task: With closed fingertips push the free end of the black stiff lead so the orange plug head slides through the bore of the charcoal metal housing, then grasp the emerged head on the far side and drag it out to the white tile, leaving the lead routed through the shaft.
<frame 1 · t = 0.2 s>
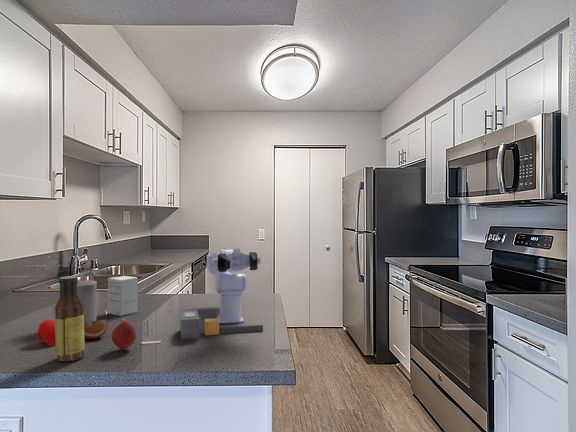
hand: (241, 263, 124), 21 cm above the counter, tool horizontal, fingers open, 7 cm apart
plug: (211, 333, 127), on the counter
sauce bottle: (69, 359, 103), on the counter
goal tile: (151, 343, 116), on the counter
onion: (123, 350, 110), on the counter
fruit slice: (91, 339, 120), on the counter
housing: (189, 334, 125), on the counter
cap: (50, 343, 115), on the counter
pillar candle: (79, 326, 133), on the counter
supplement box: (122, 313, 151), on the counter
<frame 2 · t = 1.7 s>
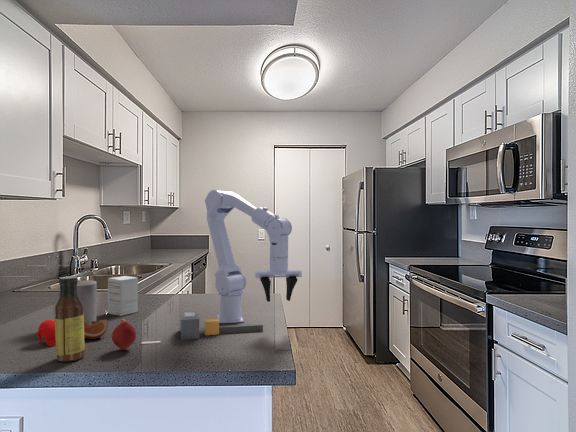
hand: (278, 300, 132), 9 cm above the counter, tool pointing down, fingers open, 6 cm apart
nothing on the counter moved.
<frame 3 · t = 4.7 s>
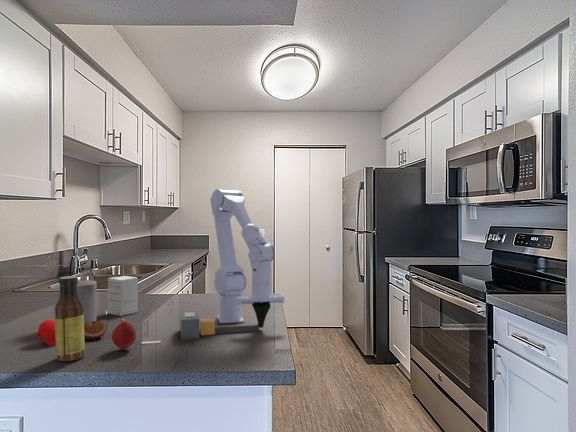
hand: (260, 326, 131), 1 cm above the counter, tool pointing down, fingers closed
plug: (207, 333, 126), on the counter, touching gripper
everything else where it was.
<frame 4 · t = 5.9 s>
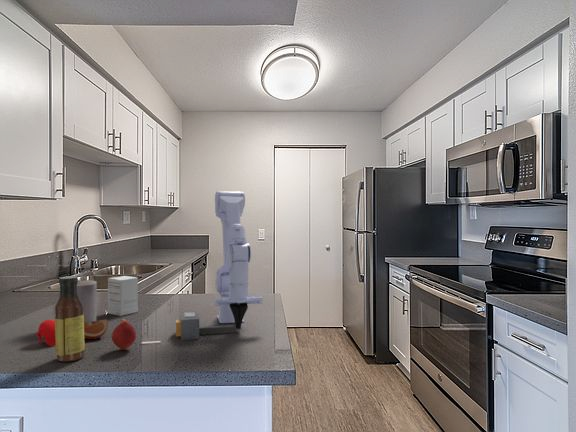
hand: (238, 328, 129), 1 cm above the counter, tool pointing down, fingers closed
plug: (183, 334, 125), on the counter, touching gripper
everything else where it was.
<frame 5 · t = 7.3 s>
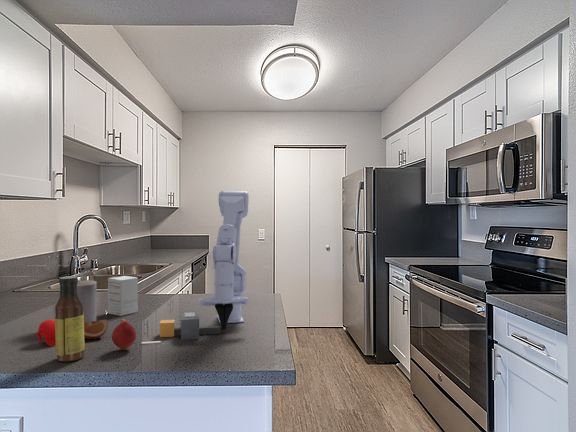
hand: (223, 328, 128), 1 cm above the counter, tool pointing down, fingers closed
plug: (167, 335, 124), on the counter, touching gripper
everything else where it was.
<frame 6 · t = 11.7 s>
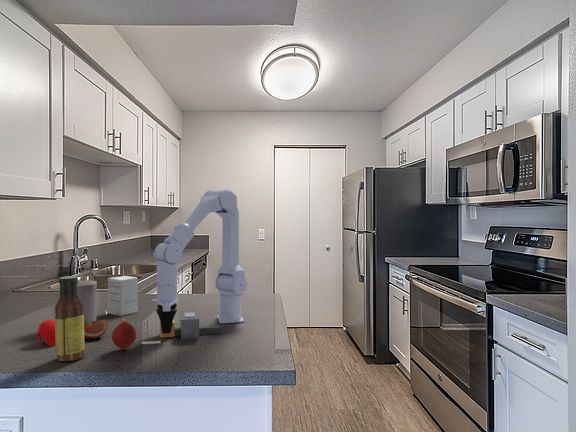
hand: (166, 330, 123), 1 cm above the counter, tool pointing down, fingers open, 4 cm apart
nothing on the counter moved.
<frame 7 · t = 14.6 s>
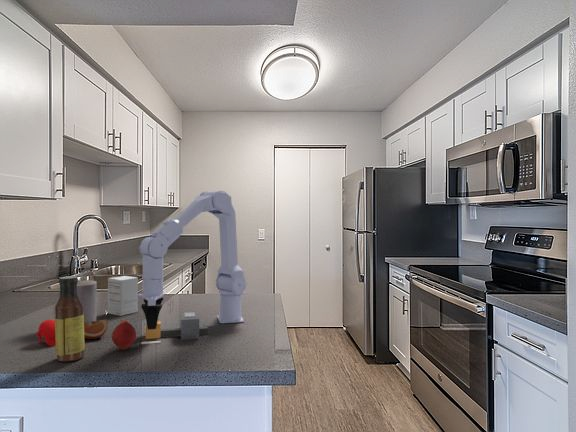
hand: (152, 325, 122), 3 cm above the counter, tool pointing down, fingers open, 7 cm apart
plug: (153, 336, 122), on the counter
everything else where it was.
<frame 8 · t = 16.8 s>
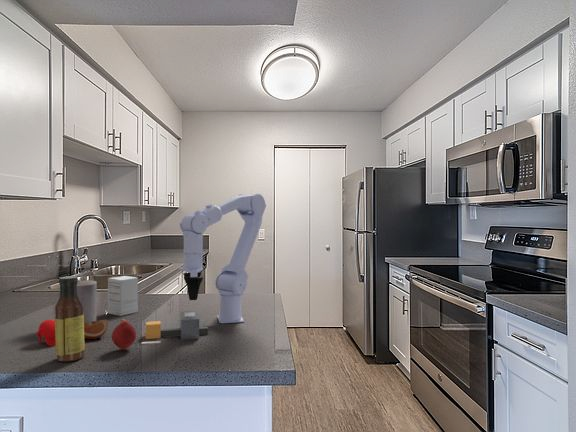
hand: (192, 297, 130), 10 cm above the counter, tool pointing down, fingers open, 7 cm apart
nothing on the counter moved.
at the end: plug 0.8 cm from the target spot, on the counter; plug tilted 0°; the gripper is holding nothing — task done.
